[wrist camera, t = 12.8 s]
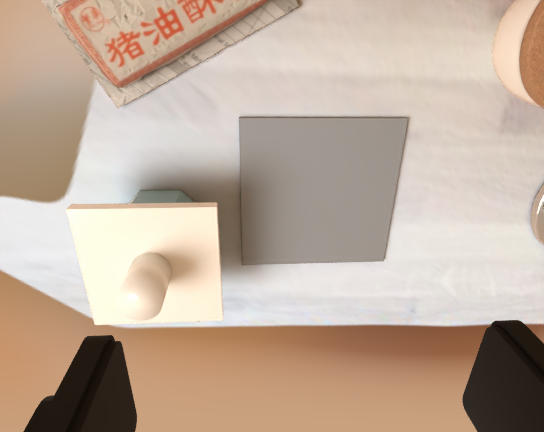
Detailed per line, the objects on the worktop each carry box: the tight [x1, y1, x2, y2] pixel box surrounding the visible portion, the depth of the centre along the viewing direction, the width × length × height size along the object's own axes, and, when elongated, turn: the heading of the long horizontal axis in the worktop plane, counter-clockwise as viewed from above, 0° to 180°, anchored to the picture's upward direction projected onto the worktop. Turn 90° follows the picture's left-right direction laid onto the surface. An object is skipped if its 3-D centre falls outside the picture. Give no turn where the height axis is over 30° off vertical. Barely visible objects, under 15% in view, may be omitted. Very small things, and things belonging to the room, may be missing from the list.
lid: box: [66, 202, 223, 325], centre depth 31 cm, size 12×12×6 cm
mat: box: [239, 117, 408, 265], centre depth 38 cm, size 16×16×1 cm
